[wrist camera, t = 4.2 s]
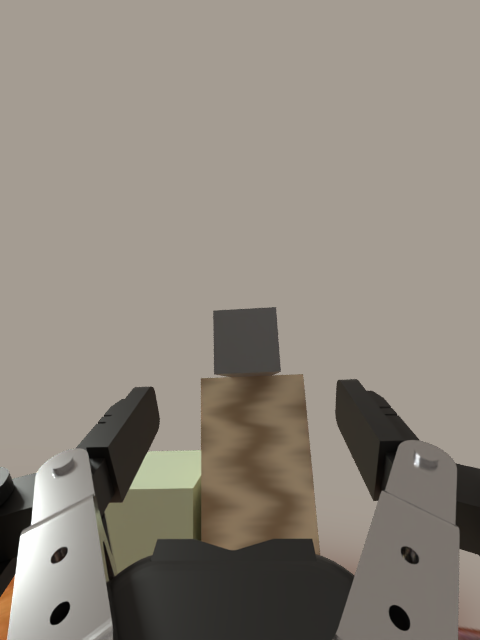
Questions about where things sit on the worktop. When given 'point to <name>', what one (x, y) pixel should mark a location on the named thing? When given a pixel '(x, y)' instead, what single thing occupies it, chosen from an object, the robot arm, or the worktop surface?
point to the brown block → (255, 462)
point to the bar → (246, 342)
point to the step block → (157, 506)
